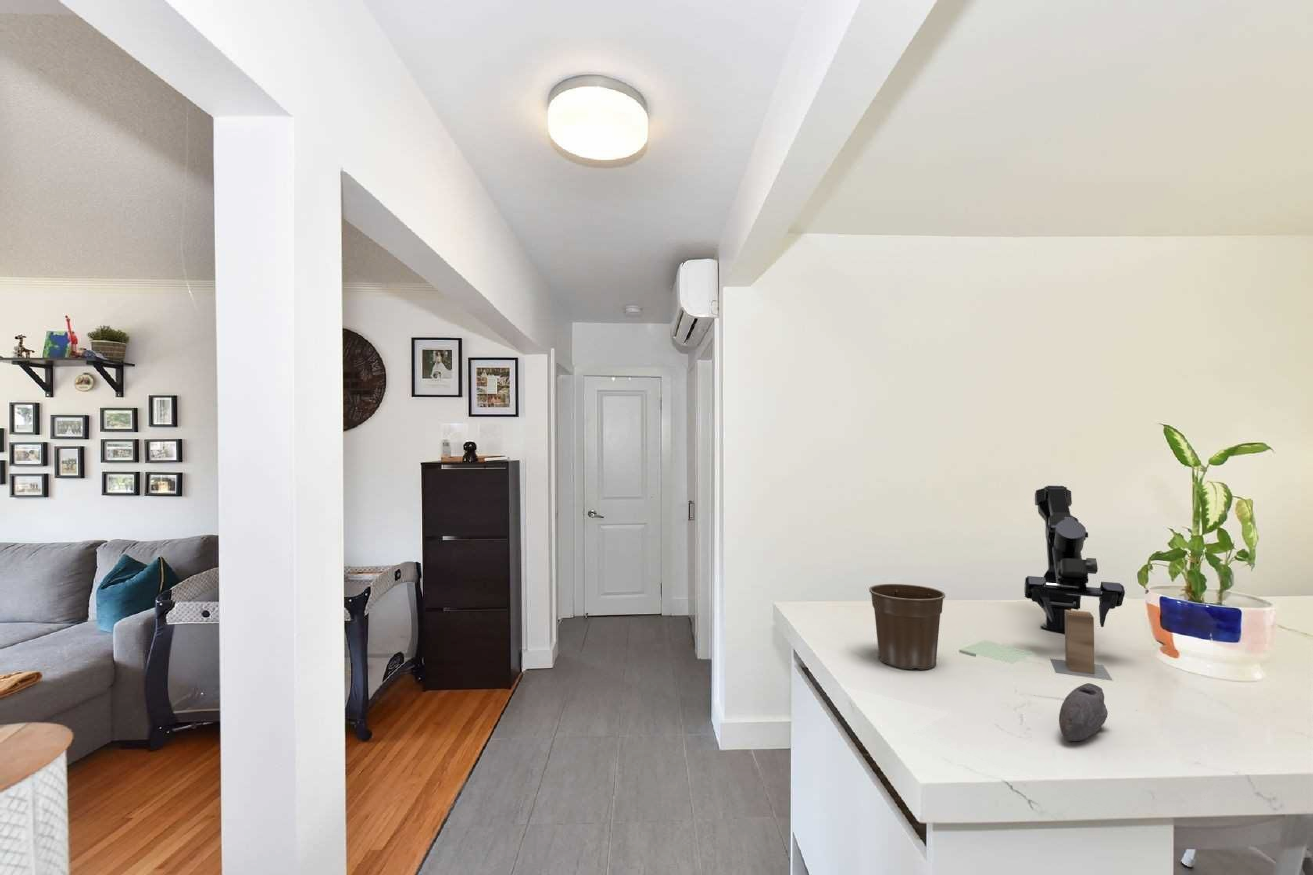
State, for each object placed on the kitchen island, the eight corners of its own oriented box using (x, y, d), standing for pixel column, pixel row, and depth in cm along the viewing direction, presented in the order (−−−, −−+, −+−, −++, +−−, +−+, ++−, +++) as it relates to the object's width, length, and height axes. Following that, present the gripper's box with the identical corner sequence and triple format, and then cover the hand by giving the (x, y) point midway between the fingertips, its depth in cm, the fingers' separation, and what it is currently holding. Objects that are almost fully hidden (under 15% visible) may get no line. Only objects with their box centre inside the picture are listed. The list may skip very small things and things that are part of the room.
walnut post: (1065, 663, 136) (1064, 609, 136) (1090, 666, 134) (1089, 611, 134) (1068, 670, 132) (1067, 614, 132) (1094, 673, 130) (1093, 617, 130)
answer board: (984, 642, 153) (984, 640, 153) (1036, 655, 143) (1036, 653, 143) (959, 652, 146) (959, 649, 146) (1012, 666, 136) (1012, 663, 136)
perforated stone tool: (1082, 753, 98) (1081, 709, 98) (1045, 740, 102) (1045, 698, 102) (1114, 726, 107) (1113, 686, 107) (1079, 716, 111) (1078, 678, 111)
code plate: (1049, 660, 140) (1049, 658, 140) (1103, 667, 135) (1103, 664, 135) (1055, 675, 131) (1055, 672, 131) (1113, 683, 126) (1113, 680, 126)
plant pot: (883, 645, 151) (883, 579, 152) (954, 659, 141) (953, 589, 142) (859, 663, 139) (858, 592, 139) (934, 680, 129) (933, 603, 129)
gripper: (1024, 541, 145) (1030, 598, 135) (1122, 547, 136) (1135, 608, 126) (1022, 569, 152) (1027, 625, 141) (1114, 576, 143) (1127, 636, 133)
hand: (1077, 623), depth 135 cm, fingers open, 9 cm apart
